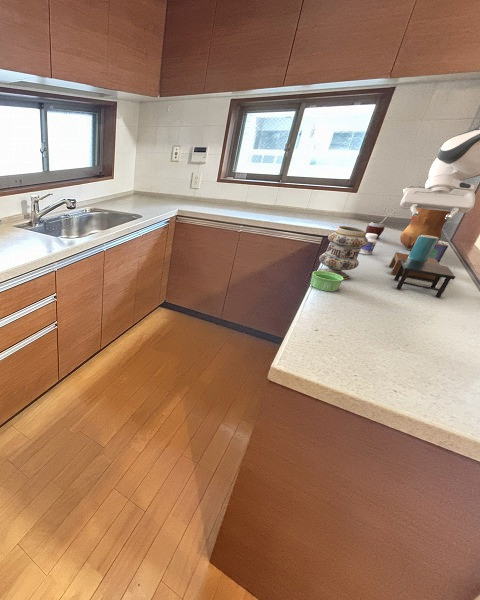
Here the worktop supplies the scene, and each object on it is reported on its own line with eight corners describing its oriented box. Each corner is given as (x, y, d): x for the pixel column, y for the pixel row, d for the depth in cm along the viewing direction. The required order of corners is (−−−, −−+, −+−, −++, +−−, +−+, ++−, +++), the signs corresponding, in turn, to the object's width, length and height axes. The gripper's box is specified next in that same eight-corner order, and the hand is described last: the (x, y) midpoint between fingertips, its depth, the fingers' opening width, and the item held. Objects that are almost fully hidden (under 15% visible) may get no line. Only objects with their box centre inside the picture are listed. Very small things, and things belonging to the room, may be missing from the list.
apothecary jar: (359, 282, 119) (381, 233, 110) (323, 279, 120) (342, 231, 112) (341, 270, 129) (360, 225, 121) (309, 267, 131) (325, 223, 123)
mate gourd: (361, 235, 179) (373, 207, 173) (379, 237, 176) (391, 209, 170) (365, 238, 173) (377, 210, 167) (383, 240, 170) (396, 211, 164)
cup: (425, 259, 125) (437, 236, 121) (427, 262, 121) (440, 239, 117) (407, 256, 128) (418, 233, 124) (408, 259, 124) (420, 236, 120)
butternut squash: (396, 244, 164) (420, 193, 153) (432, 251, 156) (461, 197, 144) (393, 250, 155) (419, 196, 144) (432, 257, 147) (462, 200, 135)
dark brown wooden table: (435, 287, 116) (447, 266, 112) (442, 298, 107) (455, 276, 104) (392, 278, 122) (402, 258, 119) (394, 289, 114) (405, 267, 110)
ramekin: (307, 279, 119) (311, 268, 117) (336, 285, 116) (341, 273, 114) (309, 288, 112) (314, 277, 110) (341, 294, 109) (346, 282, 107)
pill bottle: (370, 255, 147) (379, 236, 143) (356, 252, 150) (364, 234, 146) (371, 252, 151) (379, 234, 147) (357, 250, 154) (365, 232, 150)
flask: (409, 261, 140) (421, 237, 135) (407, 260, 142) (419, 236, 138) (438, 266, 136) (452, 241, 131) (436, 264, 138) (449, 240, 133)
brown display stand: (428, 273, 129) (435, 258, 126) (433, 282, 120) (441, 267, 117) (388, 266, 135) (395, 252, 132) (390, 274, 126) (398, 259, 124)
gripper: (408, 180, 132) (399, 208, 130) (481, 185, 121) (472, 216, 119) (402, 191, 137) (393, 217, 135) (471, 196, 126) (463, 226, 124)
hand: (431, 217), depth 127 cm, fingers open, 8 cm apart
